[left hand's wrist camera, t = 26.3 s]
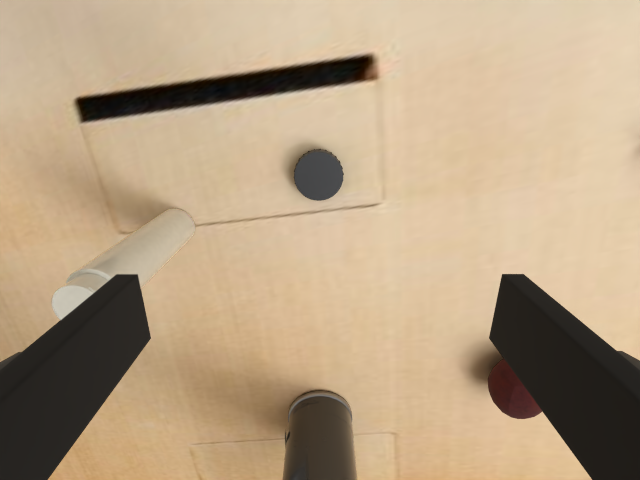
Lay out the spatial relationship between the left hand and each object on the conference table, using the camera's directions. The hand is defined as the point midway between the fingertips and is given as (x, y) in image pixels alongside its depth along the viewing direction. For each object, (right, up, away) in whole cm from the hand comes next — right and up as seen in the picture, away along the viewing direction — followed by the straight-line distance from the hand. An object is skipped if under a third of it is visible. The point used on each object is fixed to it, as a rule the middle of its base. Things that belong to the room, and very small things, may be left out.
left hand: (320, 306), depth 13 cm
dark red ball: (+26, -15, +37) cm, 48 cm away
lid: (0, +9, +25) cm, 27 cm away
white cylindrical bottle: (-17, +4, +29) cm, 34 cm away
